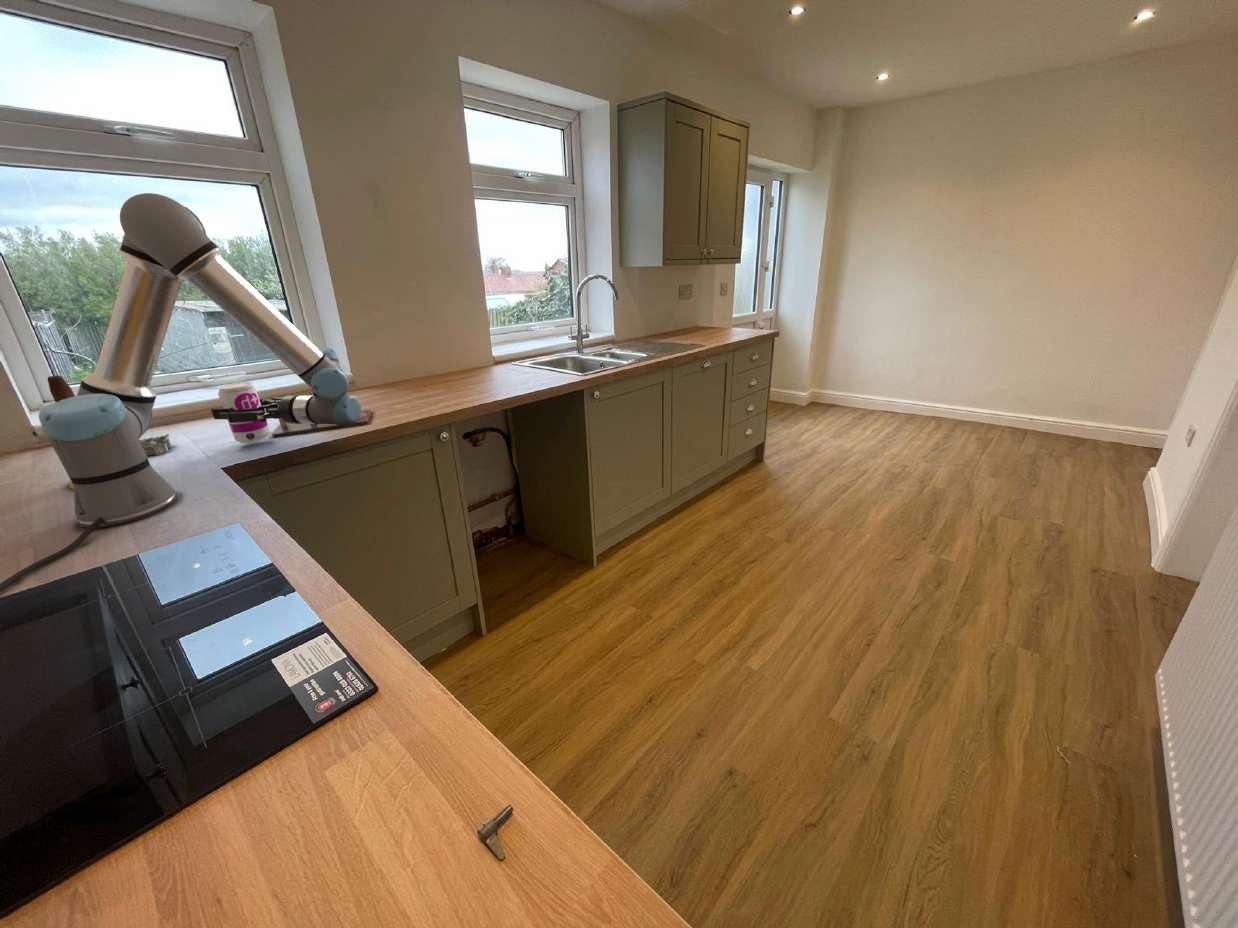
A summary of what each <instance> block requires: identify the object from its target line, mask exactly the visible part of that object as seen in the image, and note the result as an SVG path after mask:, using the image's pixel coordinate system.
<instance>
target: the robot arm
mask: <svg viewBox="0 0 1238 928" xmlns="http://www.w3.org/2000/svg"><path fill="white" fill-rule="evenodd" d="M119 222H120V226H121V228H122V231H123V233H124V234H123V236H122V237H123V238H122V241H121V245H120V249H119V253H120V254H121V255H122V257H123V258H124V260H125V261H126V266H125V270H124V274H123V276H122V280H121V283H120V286H119V289H118V293H117V296H116V300H115V302H114V303H115V304H114V307H113V310H112V314H111V316H110V320H109V323H108V327H107V331H106V334H105V337H104V341H103V344H102V348H101V351H100V354H99V358H98V361H97V364H96V368H95V371H93V372H92V373H90V374H87V375H85V376H83V377H82V378H81V381H80V384H79V387H78V391H77V395H75V397H71V398H66V399H63V400H60V401H59V402H55V401H54V402H52V403H49V404H47V405H46V406H44V407H43V408H42V409H41V410H40V411H39V414H38V420H39V422H40V425H41V430H42V432H43V433H44V434H45V436H46V437H47V439H48V440H49V443H50V444H51V446H52V448H53V450H54V452H55V454H56V456H57V457H58V459H59V461H60V463H61V464H62V466H63V468H64V471H65V472H66V474H67V476H68V478H69V480H70V481H72V483H73V486H74V489H73V491H74V514H75V518H76V520H77V522H78V524H79V526H80V527H82V528H86V529H85V530H84V531H82V532H81V534H79V536H78V537H77V538H76V539H75V540H74V541H73V542H71V543H70V544H69V545H67V546H66V547H64V548H62V549H60V550H58V551H57V552H55V553H52V554H51V555H49V556H46V557H44V558H42V559H40V560H37V561H36V562H33V563H32V564H30V565H28V566H26V567H24V568H23V569H21V570H19V571H16V573H14V574H12V575H11V576H9V577H8V578H6V579H5V580H3V581H2V582H0V592H2V591H3V590H5V589H6V588H7V587H9V586H10V585H12V584H14V583H15V582H16V581H18V580H19V579H21V578H22V577H25V576H26V575H28V574H29V573H31V572H33V571H34V570H36V569H38V568H40V567H42V566H45V565H46V564H49V563H51V562H53V561H55V560H57V559H59V558H61V557H63V556H64V555H67V554H69V552H71V551H73V550H75V549H76V548H77V547H79V546H80V545H81V544H82V543H84V541H85V540H86V539H87V538H88V537H89V536H90V535H91V534H92V533H93V532H94V531H96V529H102V528H109V527H114V526H115V527H116V526H120V525H123V524H128V523H131V522H134V521H138V520H142V519H144V518H147V517H150V516H153V515H154V514H157V513H159V512H161V511H163V510H165V509H167V508H168V507H170V506H172V504H174V503H175V502H176V501H177V499H178V495H177V493H176V491H175V489H174V488H173V486H172V485H170V484H169V483H168V481H166V480H165V478H164V477H162V476H161V475H160V474H159V473H158V472H157V471H156V470H155V469H154V468H153V467H152V465H151V463H150V461H149V458H148V456H146V454H145V452H144V450H143V447H142V445H141V443H140V441H139V440H141V437H142V436H143V435H144V434H145V433H146V432H147V431H148V430H149V428H150V427H151V425H152V422H153V409H154V405H155V403H156V399H157V395H158V393H157V392H156V390H155V389H154V388H153V387H152V385H151V383H152V381H153V377H154V373H155V370H156V367H157V364H158V360H159V357H160V354H161V351H162V347H163V344H164V341H165V337H166V335H167V332H168V328H169V324H170V321H171V318H172V315H173V312H174V308H175V305H176V302H177V298H178V296H179V293H180V289H181V286H182V283H183V282H186V281H189V283H191V284H192V285H193V286H194V287H196V288H197V289H198V290H199V291H200V292H201V293H202V294H203V295H205V296H206V297H207V298H208V299H209V300H210V301H212V303H214V304H215V305H216V306H217V307H218V308H219V309H220V310H222V311H223V312H224V313H225V314H227V315H228V317H230V318H231V319H232V320H234V321H235V322H236V324H238V325H239V326H240V327H241V328H243V329H244V330H245V331H246V333H248V334H249V335H251V336H252V337H253V338H254V339H255V340H256V341H258V342H259V344H261V345H262V346H263V347H264V348H265V349H267V351H269V352H270V353H271V354H272V355H274V356H275V358H277V359H278V360H279V361H281V363H283V364H284V365H285V366H286V367H287V368H288V369H290V370H291V371H292V372H293V373H294V374H295V375H296V376H298V377H299V378H300V379H301V380H302V381H303V382H304V383H305V384H306V385H307V386H308V387H309V388H311V390H312V394H301V395H299V394H298V395H297V394H295V395H294V394H292V395H291V394H289V395H285V396H284V397H282V396H281V397H280V396H271V397H270V398H264V399H262V398H259V400H260V403H261V406H260V407H259V408H250V409H240V410H235V409H233V407H232V408H229V409H223V408H211V409H210V411H211V414H212V417H213V419H214V420H227V419H228V420H229V422H228V424H229V423H233V422H255V421H258V422H265V421H267V422H268V420H269V419H270V420H271V419H274V420H279V418H281V419H283V420H284V421H285V422H287V423H290V424H314V425H315V426H316V425H318V424H336V425H342V424H353V423H355V422H356V421H358V419H359V418H360V415H361V411H362V405H361V402H360V401H359V400H358V398H357V397H356V396H354V395H350V394H348V391H349V388H350V381H349V377H348V375H347V374H346V373H345V372H344V371H343V369H342V368H341V366H340V359H339V358H338V356H337V355H338V354H337V353H336V350H335V349H334V348H330V347H323V348H319V347H317V345H315V344H314V343H313V342H312V340H310V339H309V338H308V337H307V336H306V335H305V334H304V333H302V331H300V330H299V328H298V327H296V326H295V325H294V324H293V323H292V321H290V320H289V319H288V318H287V317H286V316H284V314H282V313H281V311H279V310H278V308H276V307H275V306H274V305H273V304H272V303H271V302H270V301H269V300H268V299H266V297H265V296H263V294H261V293H260V292H259V291H258V289H256V288H255V287H254V286H253V285H252V284H251V283H250V282H249V281H247V280H246V279H245V277H243V276H242V275H241V274H240V272H238V271H237V270H236V269H235V268H234V267H233V266H231V264H230V263H228V261H226V260H225V259H224V258H223V257H222V255H221V248H220V247H219V246H218V245H217V244H216V243H215V242H214V241H213V240H212V239H211V238H210V237H208V235H207V232H206V228H205V227H204V224H203V222H202V221H201V219H200V217H198V215H196V214H195V213H194V212H193V211H192V210H191V209H189V208H188V206H184V205H183V204H181V203H180V202H178V201H177V200H175V199H174V198H171V197H168V196H166V195H163V194H159V193H154V192H153V193H152V192H146V193H145V192H144V193H139V194H135V195H133V196H130V197H129V198H127V200H126V201H125V202H124V203H123V204H122V206H121V208H120V211H119ZM228 420H227V421H228Z"/></svg>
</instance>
